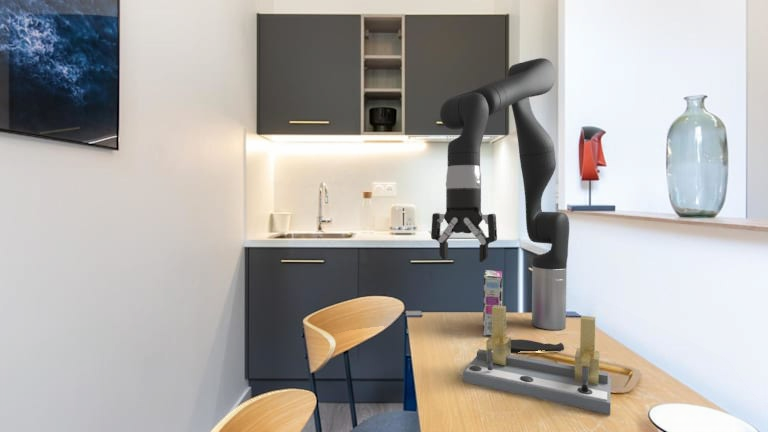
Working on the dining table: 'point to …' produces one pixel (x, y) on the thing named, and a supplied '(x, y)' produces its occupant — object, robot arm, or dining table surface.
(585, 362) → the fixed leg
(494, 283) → the candy bar box
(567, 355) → the dining table surface
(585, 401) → the board
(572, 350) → the dining table surface
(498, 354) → the slider
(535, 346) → the dark sector wedge
